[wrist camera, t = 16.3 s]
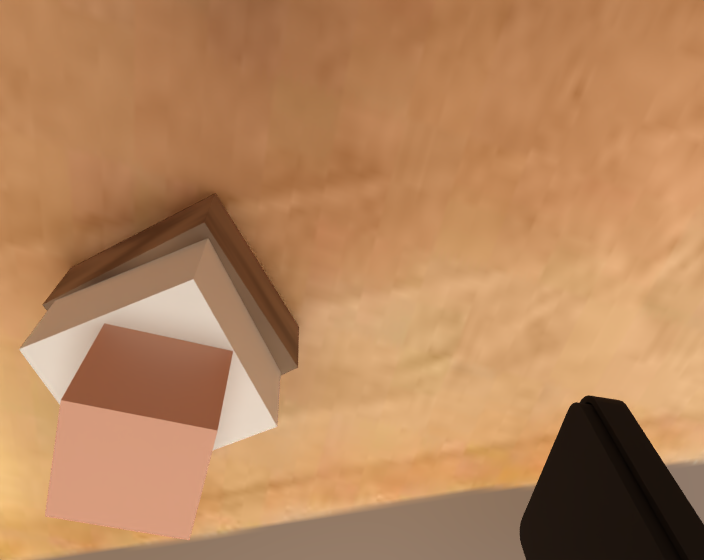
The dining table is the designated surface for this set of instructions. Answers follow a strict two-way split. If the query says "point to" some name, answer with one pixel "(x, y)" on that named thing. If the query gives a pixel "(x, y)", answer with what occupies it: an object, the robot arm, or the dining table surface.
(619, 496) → the robot arm
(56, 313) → the tower top
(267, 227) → the dining table surface
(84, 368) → the terracotta cube
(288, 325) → the tower bottom
